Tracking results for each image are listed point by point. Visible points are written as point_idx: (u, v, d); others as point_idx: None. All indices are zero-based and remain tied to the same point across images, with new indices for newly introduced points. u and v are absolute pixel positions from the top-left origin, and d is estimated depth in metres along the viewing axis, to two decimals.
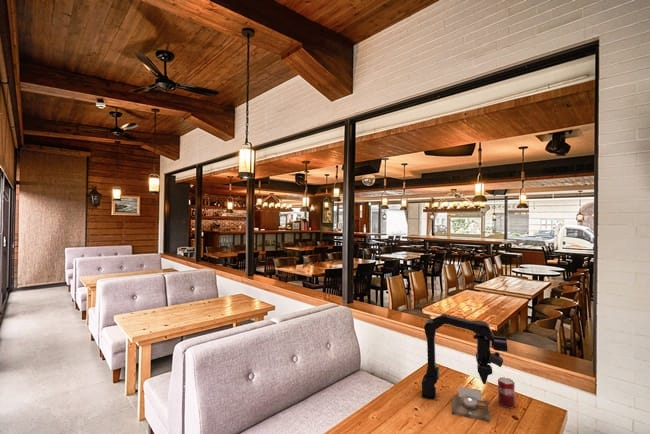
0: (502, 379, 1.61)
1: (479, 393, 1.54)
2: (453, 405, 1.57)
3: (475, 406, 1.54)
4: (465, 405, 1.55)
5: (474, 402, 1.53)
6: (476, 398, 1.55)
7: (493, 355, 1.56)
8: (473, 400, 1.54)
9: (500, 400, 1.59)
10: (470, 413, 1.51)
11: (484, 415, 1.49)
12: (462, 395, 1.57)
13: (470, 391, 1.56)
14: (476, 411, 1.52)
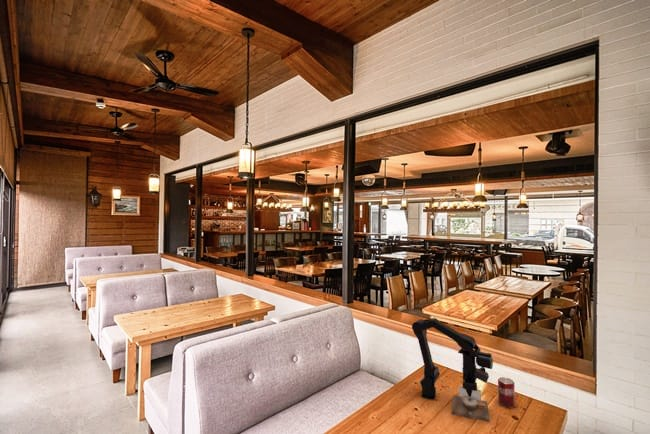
0: (502, 379, 1.61)
1: (479, 393, 1.54)
2: (453, 405, 1.57)
3: (475, 406, 1.54)
4: (465, 405, 1.55)
5: (474, 402, 1.53)
6: (476, 398, 1.55)
7: (479, 370, 1.55)
8: (473, 400, 1.54)
9: (500, 400, 1.59)
10: (470, 413, 1.51)
11: (484, 415, 1.49)
12: (462, 395, 1.57)
13: None
14: (476, 411, 1.52)
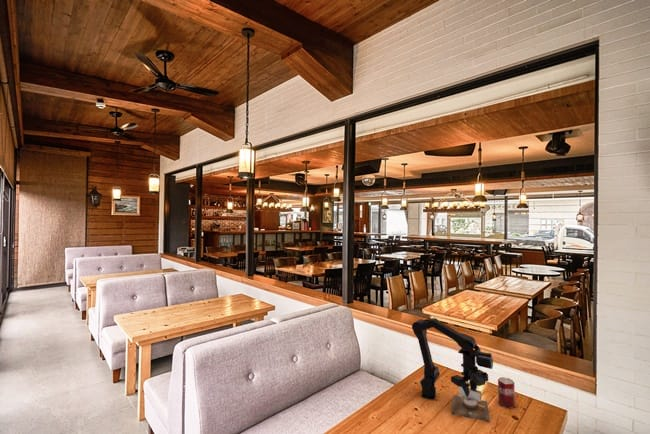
0: (502, 379, 1.61)
1: (478, 394, 1.53)
2: (453, 405, 1.57)
3: (473, 406, 1.53)
4: (464, 404, 1.56)
5: (472, 402, 1.53)
6: (475, 399, 1.54)
7: (476, 373, 1.53)
8: (472, 400, 1.54)
9: (500, 400, 1.59)
10: (470, 413, 1.51)
11: (484, 415, 1.49)
12: (462, 394, 1.58)
13: (469, 391, 1.56)
14: (476, 411, 1.52)
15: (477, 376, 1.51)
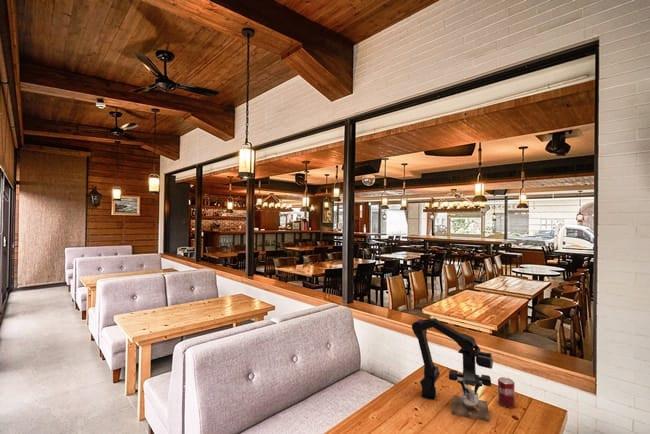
0: (502, 379, 1.61)
1: (473, 395, 1.52)
2: (453, 405, 1.57)
3: (468, 406, 1.54)
4: (462, 401, 1.58)
5: (467, 401, 1.54)
6: (471, 399, 1.54)
7: (469, 373, 1.53)
8: (467, 399, 1.55)
9: (500, 400, 1.59)
10: (470, 413, 1.51)
11: (484, 415, 1.49)
12: (463, 392, 1.60)
13: (468, 390, 1.56)
14: (476, 411, 1.52)
15: (466, 375, 1.52)
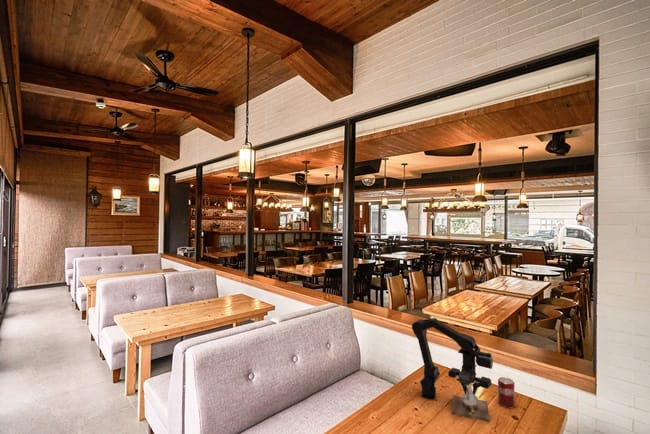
0: (502, 379, 1.61)
1: (469, 395, 1.53)
2: (453, 405, 1.57)
3: (465, 404, 1.55)
4: None
5: (464, 400, 1.56)
6: (468, 399, 1.54)
7: (465, 372, 1.54)
8: (465, 398, 1.56)
9: (500, 400, 1.59)
10: (470, 413, 1.51)
11: (484, 415, 1.49)
12: None
13: (467, 390, 1.57)
14: (476, 411, 1.52)
15: (462, 374, 1.53)
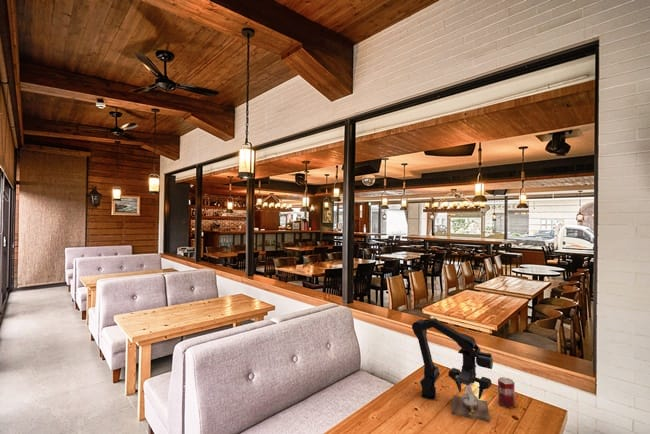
0: (502, 379, 1.61)
1: (468, 395, 1.53)
2: (453, 405, 1.57)
3: (465, 404, 1.55)
4: None
5: (464, 400, 1.56)
6: (468, 399, 1.54)
7: (465, 372, 1.54)
8: (465, 398, 1.56)
9: (500, 400, 1.59)
10: (470, 413, 1.51)
11: (484, 415, 1.49)
12: (466, 392, 1.60)
13: (467, 390, 1.57)
14: (476, 411, 1.52)
15: (462, 374, 1.53)
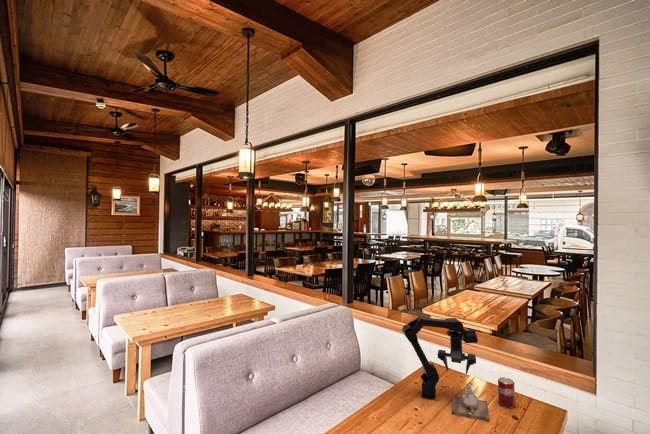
0: (502, 379, 1.61)
1: (468, 395, 1.53)
2: (453, 405, 1.57)
3: (465, 404, 1.55)
4: None
5: (464, 400, 1.56)
6: (468, 399, 1.54)
7: (456, 351, 1.65)
8: (465, 398, 1.56)
9: (500, 400, 1.59)
10: (470, 413, 1.51)
11: (484, 415, 1.49)
12: (466, 392, 1.60)
13: (467, 390, 1.57)
14: (476, 411, 1.52)
15: (453, 353, 1.64)
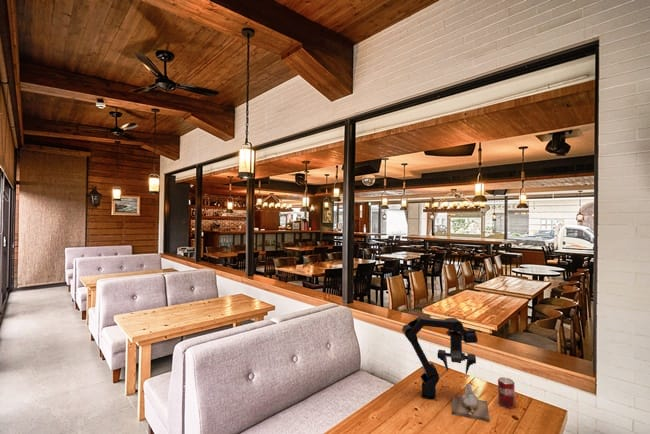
0: (502, 379, 1.61)
1: (468, 395, 1.53)
2: (453, 405, 1.57)
3: (465, 404, 1.55)
4: None
5: (464, 400, 1.56)
6: (468, 399, 1.54)
7: (455, 351, 1.65)
8: (465, 398, 1.56)
9: (500, 400, 1.59)
10: (470, 413, 1.51)
11: (484, 415, 1.49)
12: (466, 392, 1.60)
13: (467, 390, 1.57)
14: (476, 411, 1.52)
15: (453, 353, 1.64)
